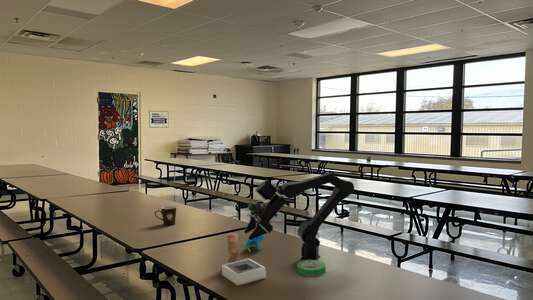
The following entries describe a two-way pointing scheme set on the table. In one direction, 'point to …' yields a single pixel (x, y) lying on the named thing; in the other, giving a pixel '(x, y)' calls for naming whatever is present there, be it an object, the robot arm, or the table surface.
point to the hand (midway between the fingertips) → (246, 235)
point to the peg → (232, 247)
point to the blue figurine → (254, 242)
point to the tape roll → (311, 271)
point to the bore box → (243, 271)
